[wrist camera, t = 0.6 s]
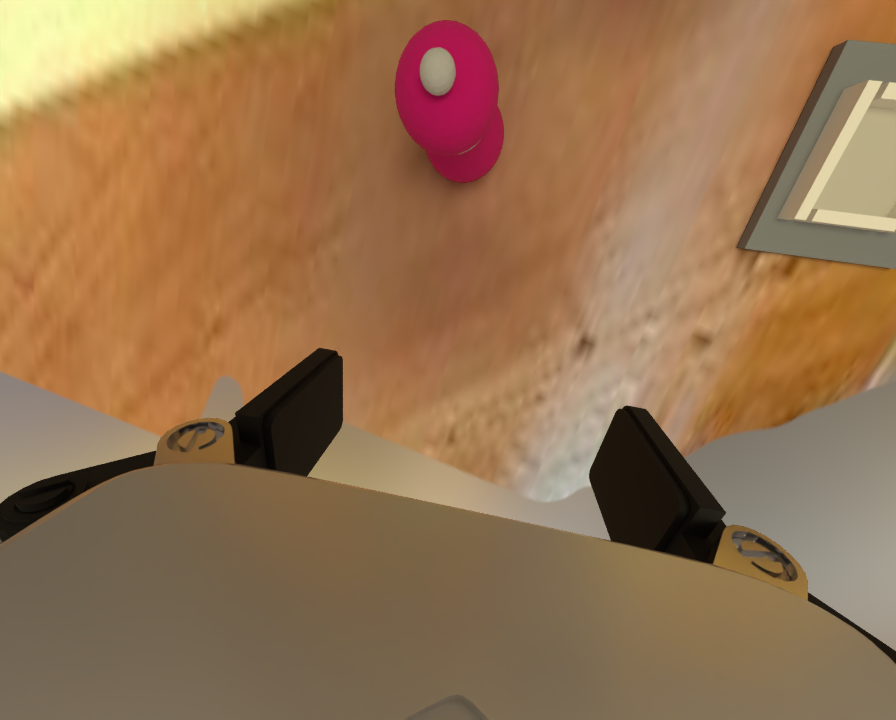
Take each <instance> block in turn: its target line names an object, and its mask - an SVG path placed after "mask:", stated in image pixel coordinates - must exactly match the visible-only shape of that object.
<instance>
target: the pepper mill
mask: <svg viewBox="0 0 896 720" xmlns="http://www.w3.org/2000/svg"><path fill="white" fill-rule="evenodd" d="M498 92H499V84H498V75H497V70H496V66H495V63H494V60H493V57H492V54H491V52H490V50H489V48H488V47H487V45H486V43H485V42H484V41H483V39H482V38H481V37H480V36H479V35H478V33H477V32H475V31H474V30H472V29H471V28H469V27H468V26H466V25H464V24H462V23H459V22H457V21H450V20H442V21H436V22H433V23H431V24H429V25H427V26H424V27H423V28H422V29H421V30H419V31H418V32H417V33H416V34H415V35H414V36H413V37H412V38H411V39H410V41H409V42H408V44H407V46H406V47H405V49H404V51H403V53H402V55H401V58H400V60H399V64H398V68H397V72H396V79H395V97H396V104H397V109H398V112H399V116H400V118H401V120H402V122H403V125H404V127H405V129H406V130H407V132H408V133H409V135H410V136H411V137H412V139H413V140H414V141H415V142H416V143H417V144H418V145H420V146H421V147H422V148H423V149H425V150H426V152H427V155H428V158H429V160H430V161H431V163H432V165H433V166H434V168H435V169H436V170H437V171H438V172H439V173H440V174H441V175H442V176H443V177H445V178H447V179H449V180H451V181H454V182H460V183H465V182H471V181H474V180H477V179H479V178H480V177H482V176H484V175H485V174H486V173H487V172H488V171H489V170H490V169H491V168H492V167H493V166H494V164H495V163H496V161H497V159H498V157H499V155H500V152H501V149H502V145H503V140H504V126H503V120H502V116H501V113H500V110H499V108H498V106H497V102H498Z"/></svg>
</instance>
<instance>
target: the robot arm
mask: <svg viewBox="0 0 896 720" xmlns="http://www.w3.org/2000/svg"><path fill="white" fill-rule="evenodd" d="M235 415H236V417H234V418H233V419H232V420H231V421H229V422H226V421H225V420H221V419H218V418H204V419H196V420H192V421H188V422H185V423H183V424H180V425H178V426H176V427H174V428H172V429H171V430H169V431H167V432H166V433H165V434H164V435H163V436H162V437H161V439H160V440H159V442H158V445H157V451H153V452H149V453H145V454H141V455H137V456H133V457H129V458H125V459H121V460H117V461H113V462H109V463H105V464H101V465H97V466H93V467H89V468H85V469H81V470H77V471H74V472H69V473H65V474H61V475H57V476H54V477H51V478H47V479H44V480H41V481H38V482H36V483H33V484H31V485H29V486H27V487H25V488H23V489H21V490H19V491H18V492H16V493H14V494H13V495H11V496H9V497H8V498H7V499H5V500H4V501H3V502H2V503H1V504H0V720H896V651H895V650H893V649H892V648H890V647H889V646H887V645H886V644H884V643H883V642H881V641H880V640H878V639H877V638H875V637H874V636H872V635H871V634H869V633H868V632H866V631H865V630H863V629H862V628H860V627H859V626H857V625H856V624H854V623H853V622H851V621H850V620H849V619H847V618H846V617H844V616H843V615H841V614H840V613H838V612H837V611H835V610H834V609H832V608H831V607H829V606H828V605H826V604H825V603H823V602H822V601H820V600H819V599H817V598H816V597H814V596H813V595H811V594H810V593H808V581H807V577H806V574H805V572H804V571H803V569H802V567H801V566H800V564H799V563H798V562H797V561H796V560H795V559H794V558H793V557H792V556H791V555H790V554H789V553H788V552H787V551H786V550H784V549H783V548H782V547H781V546H780V545H778V544H777V543H776V542H774V541H772V540H771V539H769V538H768V537H766V536H765V535H763V534H761V533H759V532H757V531H755V530H752V529H750V528H747V527H744V526H739V525H730V526H727V527H726V525H725V524H724V522H723V521H722V520H721V519H722V518H723V516H724V515H725V514H726V512H725V511H724V510H723V508H722V507H721V505H720V504H719V503H718V502H717V500H716V499H715V498H714V496H713V495H712V494H711V492H710V491H709V490H708V489H707V487H706V486H705V485H704V483H703V482H702V481H701V480H700V478H699V477H698V476H697V474H696V473H695V472H694V471H693V470H692V468H691V467H690V465H689V464H688V463H687V461H686V460H685V459H684V458H683V456H682V455H681V454H680V452H679V451H678V450H677V448H676V447H675V446H674V445H673V443H672V442H671V441H670V439H669V438H668V437H667V435H666V434H665V433H664V432H663V430H662V429H661V428H660V426H659V425H658V424H657V423H656V421H655V420H654V419H653V417H652V416H651V415H650V413H649V412H648V411H647V410H646V409H642V408H637V407H632V406H624V407H623V408H622V409H618V410H617V411H616V413H615V415H614V417H613V420H612V422H611V424H610V426H609V429H608V431H607V433H606V435H605V437H604V440H603V442H602V444H601V446H600V449H599V451H598V453H597V455H596V458H595V460H594V462H593V464H592V467H591V469H590V473H589V479H590V483H591V486H592V488H593V491H594V493H595V497H596V500H597V502H598V505H599V508H600V511H601V514H602V516H603V519H604V522H605V525H606V528H607V531H608V533H609V536H610V539H611V541H609V540H605V539H600V538H596V537H591V536H586V535H582V534H576V533H573V532H568V531H563V530H559V529H554V528H549V527H545V526H540V525H535V524H530V523H525V522H521V521H516V520H512V519H507V518H502V517H498V516H493V515H488V514H483V513H479V512H474V511H469V510H465V509H460V508H455V507H450V506H445V505H440V504H436V503H432V502H427V501H422V500H417V499H413V498H408V497H403V496H398V495H393V494H389V493H384V492H380V491H375V490H370V489H365V488H360V487H355V486H350V485H346V484H341V483H336V482H331V481H326V480H321V479H317V478H312V477H307V476H308V474H309V473H310V471H311V470H312V468H313V467H314V466H315V464H316V463H317V461H318V460H319V458H320V457H321V456H322V454H323V453H324V452H325V450H326V449H327V447H328V446H329V444H330V443H331V442H332V440H333V439H334V437H335V436H336V435H337V433H338V432H339V430H340V428H341V426H342V422H343V359H342V357H341V356H338V353H337V351H333V350H328V349H323V348H319V349H317V350H316V351H314V352H313V353H312V354H311V355H309V356H308V357H307V358H305V359H304V360H303V361H301V362H300V363H299V364H298V365H296V366H295V367H294V368H292V369H291V370H290V371H289V372H287V373H286V374H285V375H283V376H282V377H281V378H280V379H278V380H277V381H276V382H274V383H273V384H272V385H270V386H269V387H268V388H267V389H265V390H264V391H263V392H261V393H260V394H259V395H258V396H256V397H255V398H254V399H252V400H251V401H250V402H249V403H247V404H246V405H245V406H243V407H242V408H241V409H240V410H238V411H237V412H236V413H235Z"/></svg>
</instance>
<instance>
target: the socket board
mask: <svg viewBox="0 0 896 720" xmlns="http://www.w3.org/2000/svg"><path fill="white" fill-rule="evenodd" d="M737 248H744V249H751V250H759V251H766V252H774V253H781V254H788V255H796V256H803V257H811V258H818V259H825V260H833V261H840V262H848V263H855V264H862V265H870V266H877V267H885V268H892V269H896V44H887V43H876V42H865V41H854V40H847V41H845V42H843V43H841V44H839V45H837V46H835V47H834V48H833V50H832V52H831V54H830V56H829V58H828V60H827V62H826V64H825V66H824V68H823V70H822V72H821V75H820V77H819V79H818V81H817V83H816V85H815V87H814V89H813V91H812V93H811V95H810V97H809V99H808V101H807V103H806V105H805V108H804V110H803V112H802V114H801V116H800V118H799V120H798V122H797V124H796V126H795V128H794V130H793V132H792V134H791V136H790V138H789V141H788V143H787V145H786V147H785V149H784V151H783V153H782V155H781V157H780V159H779V161H778V163H777V165H776V167H775V169H774V171H773V174H772V176H771V178H770V180H769V182H768V184H767V186H766V188H765V190H764V192H763V194H762V196H761V198H760V200H759V202H758V204H757V207H756V209H755V211H754V213H753V215H752V217H751V219H750V221H749V223H748V225H747V227H746V229H745V231H744V233H743V235H742V237H741V240H740V242H739V244H738V246H737Z"/></svg>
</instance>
